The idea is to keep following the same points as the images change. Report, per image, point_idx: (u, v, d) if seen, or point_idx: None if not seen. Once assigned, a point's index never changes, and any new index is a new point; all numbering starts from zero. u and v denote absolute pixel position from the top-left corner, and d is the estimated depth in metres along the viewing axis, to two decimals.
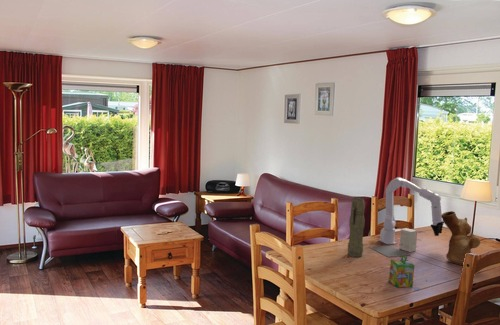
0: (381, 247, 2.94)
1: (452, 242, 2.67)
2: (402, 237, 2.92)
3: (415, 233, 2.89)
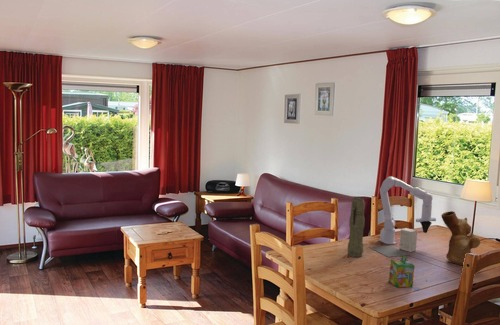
0: (381, 247, 2.94)
1: (452, 242, 2.67)
2: (402, 237, 2.92)
3: (415, 233, 2.89)
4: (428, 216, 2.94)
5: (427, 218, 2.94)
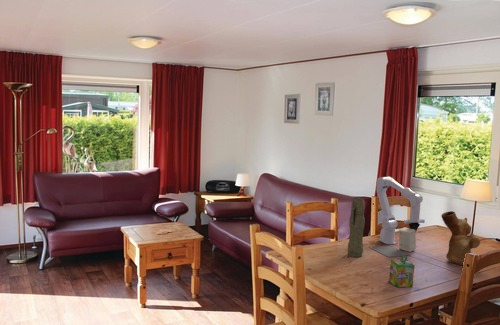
0: (381, 247, 2.94)
1: (452, 242, 2.67)
2: (400, 237, 2.91)
3: (413, 233, 2.88)
4: (416, 217, 2.88)
5: (415, 220, 2.89)
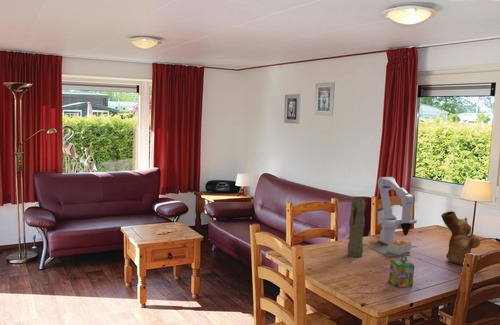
0: (381, 247, 2.94)
1: (452, 242, 2.67)
2: None
3: (400, 248, 2.80)
4: (408, 218, 2.86)
5: (407, 220, 2.87)
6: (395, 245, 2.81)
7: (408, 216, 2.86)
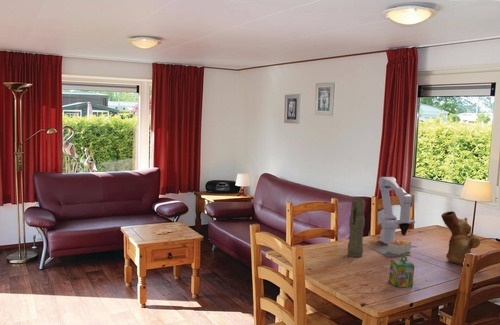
0: (381, 247, 2.94)
1: (452, 242, 2.67)
2: None
3: (400, 248, 2.80)
4: (406, 218, 2.86)
5: (405, 220, 2.86)
6: (395, 245, 2.81)
7: (406, 216, 2.86)
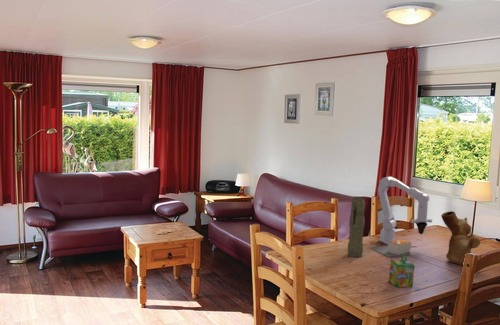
0: (381, 247, 2.94)
1: (452, 242, 2.67)
2: None
3: (400, 248, 2.80)
4: (424, 217, 2.90)
5: (423, 219, 2.90)
6: (395, 245, 2.81)
7: (424, 215, 2.90)
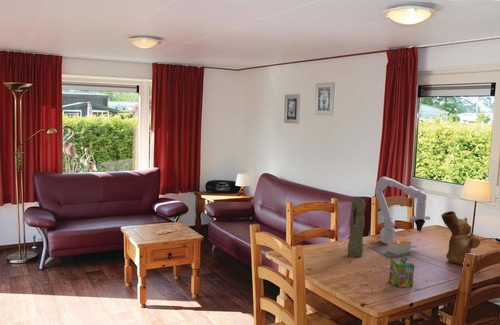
0: (381, 247, 2.94)
1: (452, 242, 2.67)
2: None
3: (400, 248, 2.80)
4: (422, 214, 2.96)
5: (421, 216, 2.96)
6: (395, 245, 2.81)
7: (422, 212, 2.96)
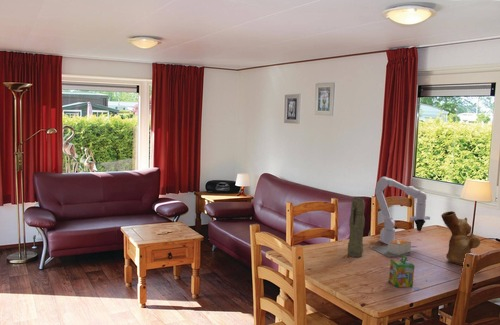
0: (381, 247, 2.94)
1: (452, 242, 2.67)
2: None
3: (400, 248, 2.80)
4: (422, 214, 2.96)
5: (421, 216, 2.96)
6: (395, 245, 2.81)
7: (422, 212, 2.96)
